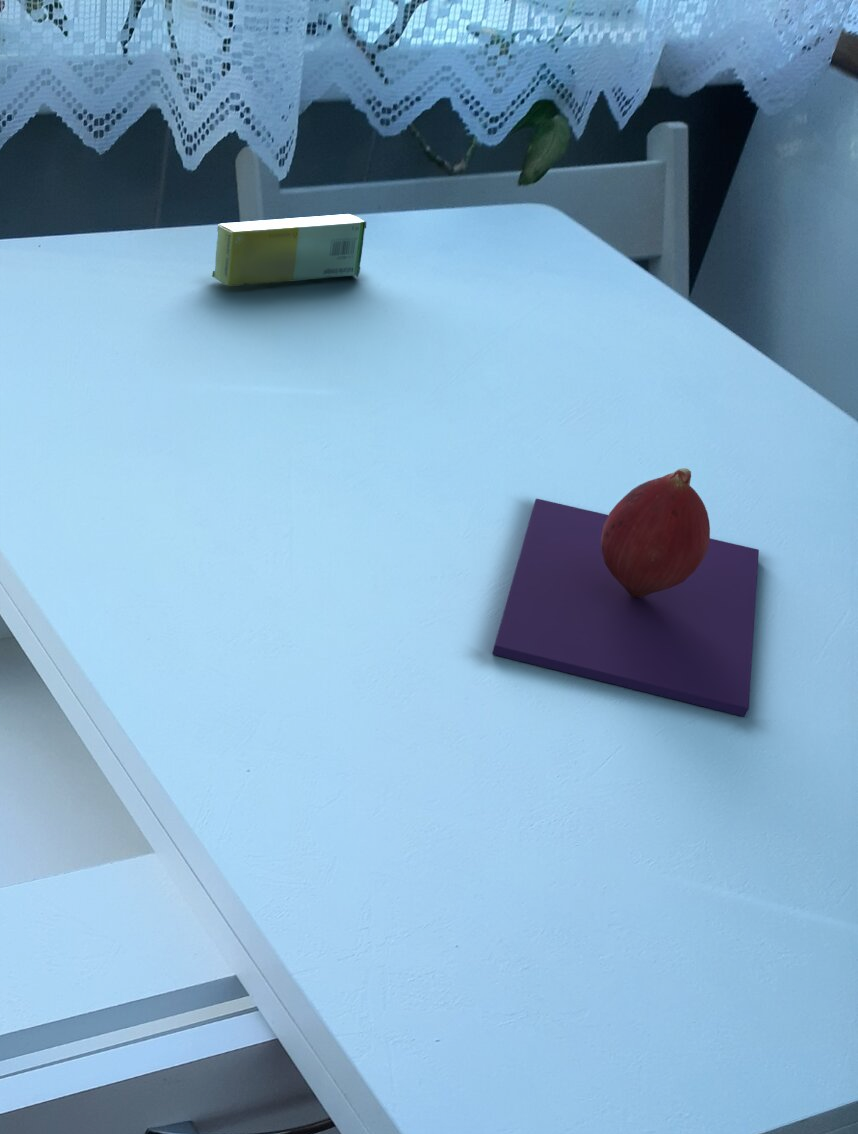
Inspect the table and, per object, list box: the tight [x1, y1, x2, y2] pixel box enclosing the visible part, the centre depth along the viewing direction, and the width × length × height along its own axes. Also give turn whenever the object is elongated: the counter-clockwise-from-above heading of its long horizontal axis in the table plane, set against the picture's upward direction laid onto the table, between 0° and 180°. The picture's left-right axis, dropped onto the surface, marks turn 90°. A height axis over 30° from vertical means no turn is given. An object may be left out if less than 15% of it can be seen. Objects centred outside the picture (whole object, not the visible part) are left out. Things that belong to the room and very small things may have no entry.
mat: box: [492, 498, 760, 717], centre depth 90 cm, size 14×18×1 cm
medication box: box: [211, 213, 367, 287], centre depth 117 cm, size 12×3×4 cm, turn 114°
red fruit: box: [601, 467, 711, 598], centre depth 87 cm, size 6×6×8 cm
